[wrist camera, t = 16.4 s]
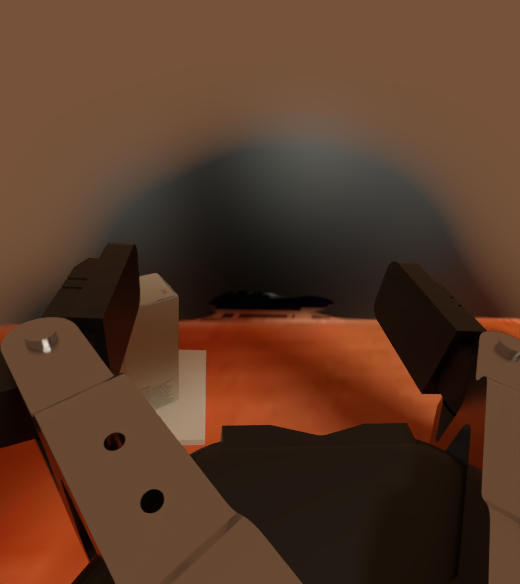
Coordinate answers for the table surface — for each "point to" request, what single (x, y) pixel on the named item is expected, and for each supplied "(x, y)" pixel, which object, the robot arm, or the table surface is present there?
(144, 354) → the box
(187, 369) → the board
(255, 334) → the table surface
